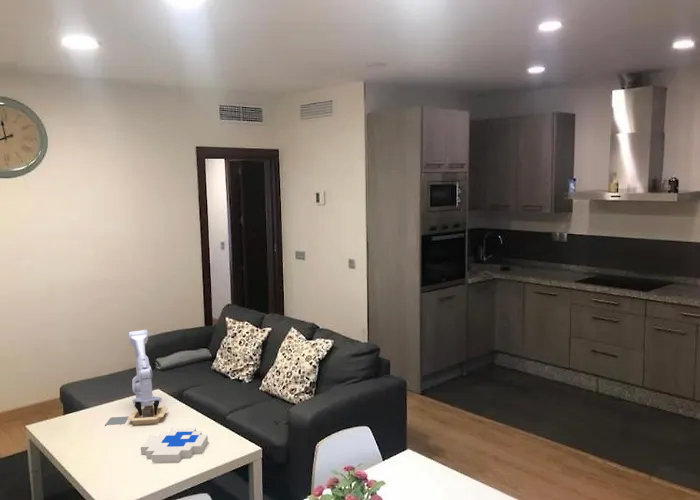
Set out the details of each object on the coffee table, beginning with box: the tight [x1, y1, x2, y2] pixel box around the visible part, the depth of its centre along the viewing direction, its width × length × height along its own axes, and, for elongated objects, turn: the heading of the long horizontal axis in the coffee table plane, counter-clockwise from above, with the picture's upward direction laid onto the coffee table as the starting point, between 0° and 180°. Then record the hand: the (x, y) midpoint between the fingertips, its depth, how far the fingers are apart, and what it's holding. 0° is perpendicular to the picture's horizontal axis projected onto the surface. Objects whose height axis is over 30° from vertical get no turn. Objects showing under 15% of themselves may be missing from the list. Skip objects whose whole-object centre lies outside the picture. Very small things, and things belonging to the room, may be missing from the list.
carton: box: [127, 405, 169, 425], centre depth 311 cm, size 18×18×4 cm
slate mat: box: [104, 415, 130, 427], centre depth 310 cm, size 10×10×1 cm
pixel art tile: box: [140, 427, 209, 463], centre depth 277 cm, size 28×4×28 cm
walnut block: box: [142, 404, 154, 418], centre depth 311 cm, size 7×4×6 cm, turn 6°
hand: (148, 415), depth 311 cm, fingers open, 7 cm apart
